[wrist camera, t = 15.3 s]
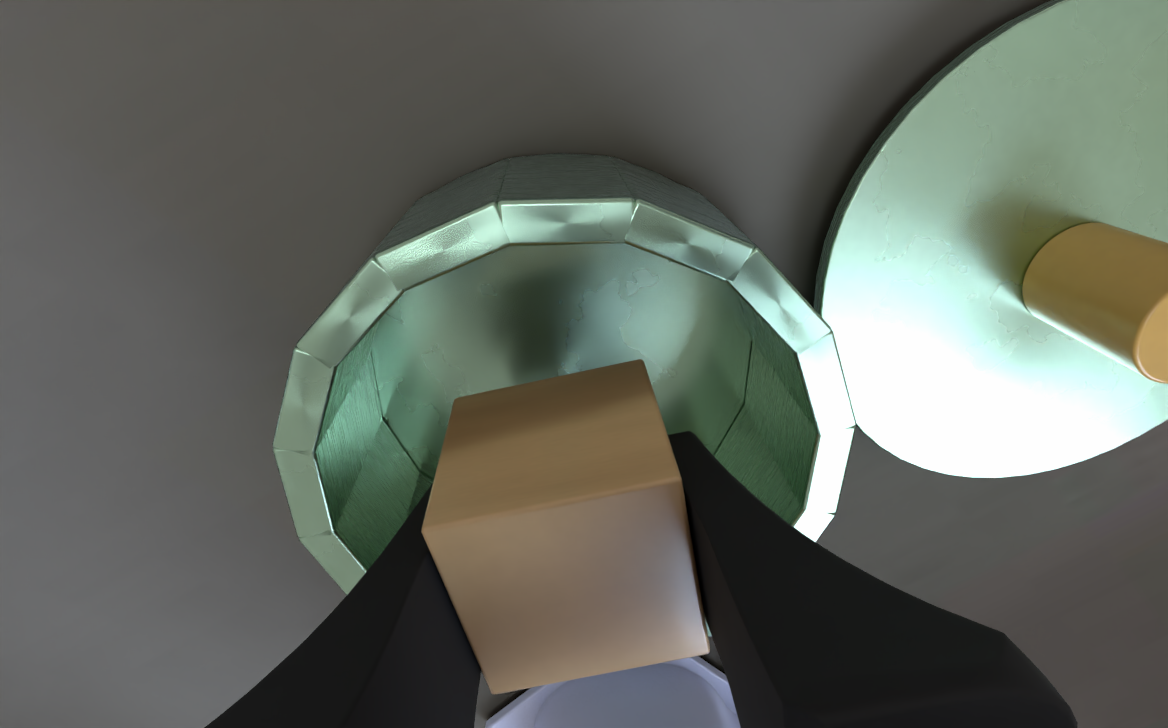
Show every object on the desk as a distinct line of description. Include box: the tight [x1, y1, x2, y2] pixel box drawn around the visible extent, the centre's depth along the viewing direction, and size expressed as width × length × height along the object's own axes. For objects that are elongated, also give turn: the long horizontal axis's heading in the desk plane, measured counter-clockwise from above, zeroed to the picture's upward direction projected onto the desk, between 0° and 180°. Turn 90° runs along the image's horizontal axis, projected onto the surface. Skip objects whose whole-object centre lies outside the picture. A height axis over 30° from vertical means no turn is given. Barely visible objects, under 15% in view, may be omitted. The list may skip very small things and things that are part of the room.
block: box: [421, 359, 710, 694], centre depth 12 cm, size 4×4×4 cm
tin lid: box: [813, 0, 1168, 478], centre depth 14 cm, size 13×13×4 cm
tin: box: [273, 153, 856, 636], centre depth 15 cm, size 12×12×5 cm
